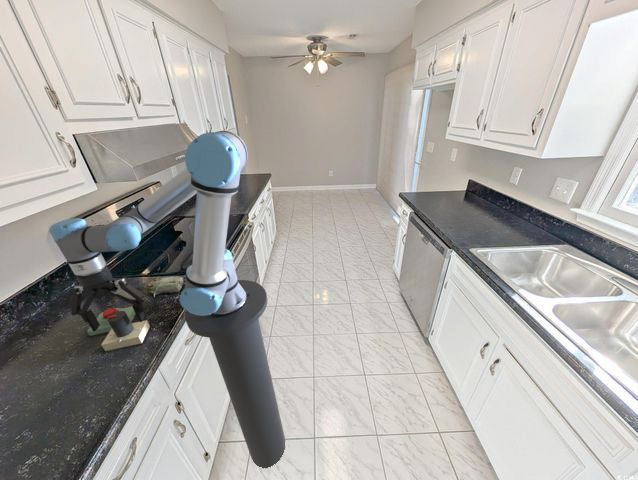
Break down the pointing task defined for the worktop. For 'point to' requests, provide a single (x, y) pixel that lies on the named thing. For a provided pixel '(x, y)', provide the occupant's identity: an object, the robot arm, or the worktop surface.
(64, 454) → the worktop surface
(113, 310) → the switch button
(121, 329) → the dial
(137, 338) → the dial panel
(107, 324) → the switch base
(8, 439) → the worktop surface
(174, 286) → the mushroom
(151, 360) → the worktop surface
